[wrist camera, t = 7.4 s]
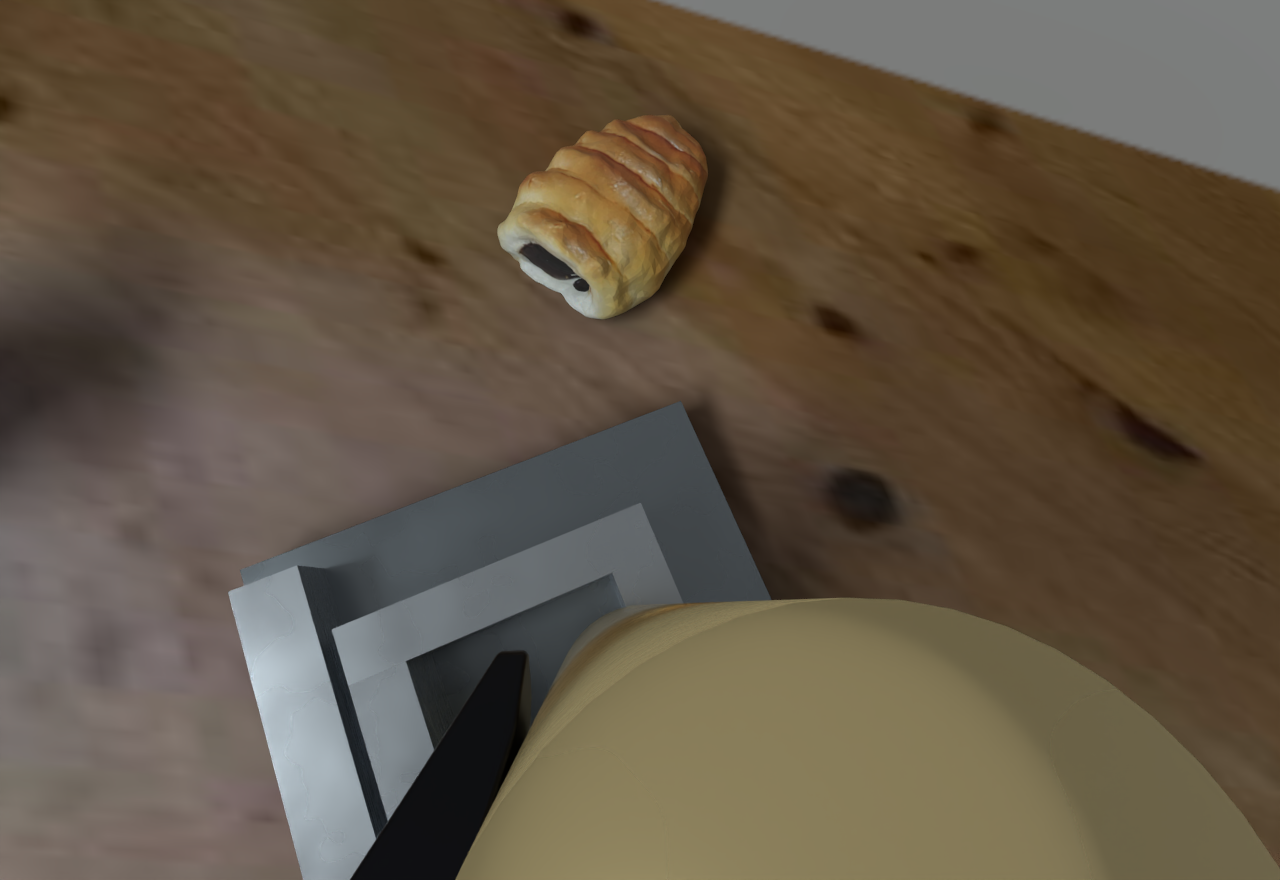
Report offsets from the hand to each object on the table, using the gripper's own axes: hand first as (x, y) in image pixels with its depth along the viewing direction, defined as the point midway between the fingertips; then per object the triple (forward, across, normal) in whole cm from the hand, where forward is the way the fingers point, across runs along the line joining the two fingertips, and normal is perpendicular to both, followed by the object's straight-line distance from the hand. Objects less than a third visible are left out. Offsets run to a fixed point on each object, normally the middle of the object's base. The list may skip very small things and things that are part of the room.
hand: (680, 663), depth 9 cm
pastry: (+21, 0, -2) cm, 21 cm away
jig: (+8, +2, +11) cm, 14 cm away
